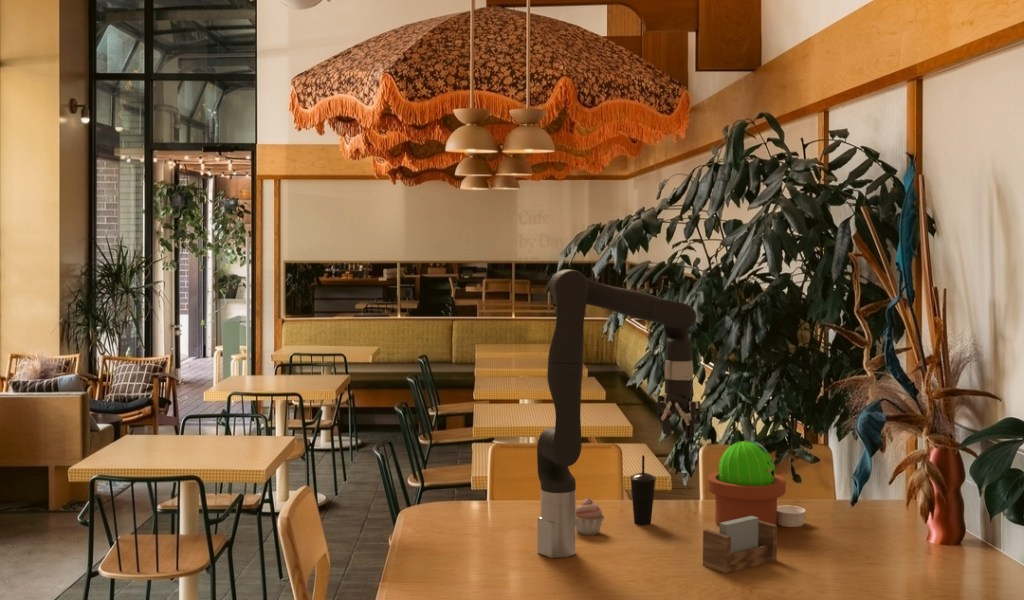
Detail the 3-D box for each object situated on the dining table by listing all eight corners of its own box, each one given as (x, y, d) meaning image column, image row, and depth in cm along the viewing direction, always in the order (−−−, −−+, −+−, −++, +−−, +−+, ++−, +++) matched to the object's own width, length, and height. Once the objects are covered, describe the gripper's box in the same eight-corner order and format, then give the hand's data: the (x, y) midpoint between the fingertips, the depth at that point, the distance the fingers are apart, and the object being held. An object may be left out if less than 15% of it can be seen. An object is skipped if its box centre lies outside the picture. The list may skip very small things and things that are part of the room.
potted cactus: (697, 528, 315) (698, 442, 313) (720, 510, 335) (721, 429, 333) (773, 538, 305) (775, 450, 303) (792, 519, 324) (794, 436, 323)
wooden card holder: (726, 573, 275) (726, 537, 274) (702, 565, 281) (703, 530, 280) (776, 560, 286) (777, 525, 285) (752, 552, 292) (753, 518, 292)
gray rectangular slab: (725, 563, 279) (726, 525, 278) (718, 561, 281) (719, 522, 280) (757, 555, 286) (758, 517, 285) (750, 553, 288) (751, 515, 287)
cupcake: (593, 539, 304) (593, 503, 303) (565, 533, 310) (565, 498, 309) (611, 531, 312) (611, 497, 311) (583, 526, 317) (583, 492, 316)
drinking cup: (647, 528, 315) (648, 459, 313) (624, 524, 320) (625, 456, 318) (660, 522, 321) (661, 455, 320) (638, 518, 326) (638, 451, 324)
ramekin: (808, 528, 316) (808, 513, 316) (777, 527, 316) (778, 513, 316) (801, 519, 325) (801, 505, 325) (771, 519, 325) (771, 505, 325)
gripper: (650, 374, 298) (649, 433, 299) (687, 381, 287) (687, 442, 288) (670, 372, 302) (669, 430, 304) (708, 378, 291) (707, 439, 292)
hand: (678, 436), depth 296 cm, fingers open, 8 cm apart
